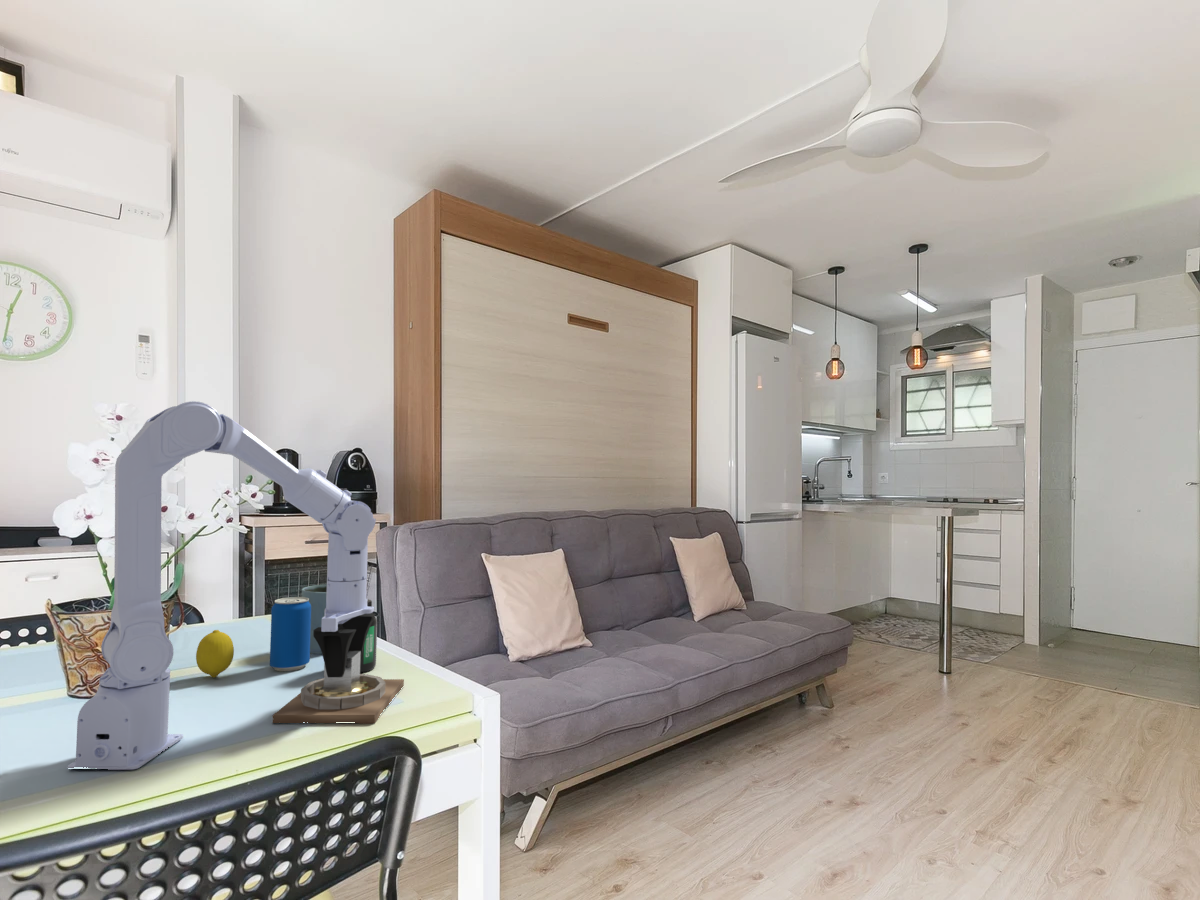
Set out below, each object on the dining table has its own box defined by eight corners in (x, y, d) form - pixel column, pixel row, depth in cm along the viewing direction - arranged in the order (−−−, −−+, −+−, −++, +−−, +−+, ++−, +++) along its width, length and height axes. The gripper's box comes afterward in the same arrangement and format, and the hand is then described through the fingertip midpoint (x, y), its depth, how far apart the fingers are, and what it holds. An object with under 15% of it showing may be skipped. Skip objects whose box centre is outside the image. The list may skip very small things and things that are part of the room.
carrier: (374, 723, 92) (375, 703, 92) (272, 723, 91) (273, 704, 91) (403, 686, 108) (404, 670, 108) (317, 686, 107) (317, 670, 107)
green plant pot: (292, 647, 131) (294, 586, 131) (343, 639, 138) (345, 581, 138) (310, 658, 123) (312, 594, 124) (363, 649, 130) (364, 588, 131)
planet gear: (359, 704, 96) (360, 661, 96) (305, 704, 95) (306, 661, 95) (375, 687, 103) (376, 647, 104) (325, 687, 103) (326, 647, 103)
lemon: (215, 683, 108) (217, 634, 108) (187, 681, 109) (188, 632, 109) (240, 673, 113) (242, 627, 114) (213, 671, 114) (214, 625, 115)
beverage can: (310, 660, 122) (312, 595, 122) (308, 670, 116) (310, 602, 116) (271, 664, 119) (273, 597, 120) (267, 674, 113) (269, 604, 114)
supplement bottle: (379, 671, 116) (380, 603, 116) (337, 676, 112) (339, 606, 113) (372, 661, 122) (374, 596, 122) (332, 666, 118) (334, 599, 119)
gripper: (358, 586, 93) (355, 684, 92) (387, 571, 107) (384, 655, 107) (307, 586, 93) (304, 684, 92) (343, 571, 107) (340, 655, 107)
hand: (344, 668), depth 99 cm, fingers open, 7 cm apart
